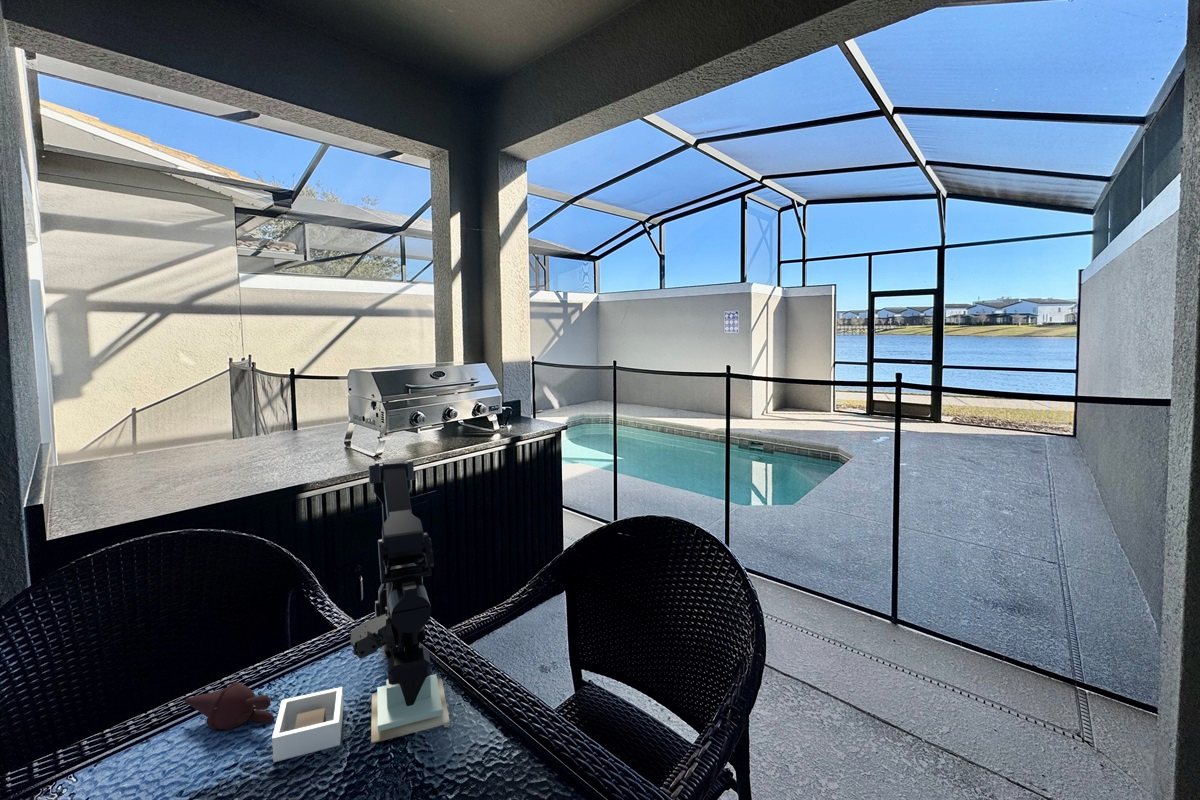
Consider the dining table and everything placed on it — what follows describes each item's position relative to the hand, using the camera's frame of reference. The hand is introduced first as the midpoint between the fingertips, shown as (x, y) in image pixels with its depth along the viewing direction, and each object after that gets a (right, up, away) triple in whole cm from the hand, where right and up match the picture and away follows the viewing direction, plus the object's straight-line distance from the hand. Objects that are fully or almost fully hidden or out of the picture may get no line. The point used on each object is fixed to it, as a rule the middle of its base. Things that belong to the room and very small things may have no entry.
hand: (408, 687), depth 91 cm
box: (-14, -5, -5) cm, 16 cm away
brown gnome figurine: (-29, -5, -3) cm, 29 cm away
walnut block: (-14, -4, -5) cm, 15 cm away
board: (0, -4, +1) cm, 4 cm away
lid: (0, -4, 0) cm, 4 cm away
